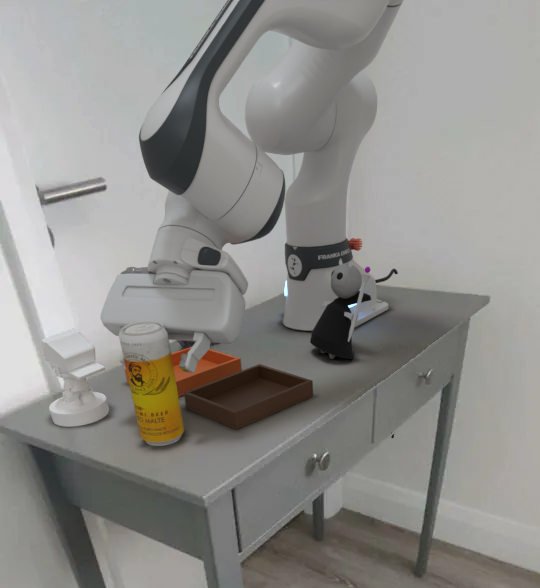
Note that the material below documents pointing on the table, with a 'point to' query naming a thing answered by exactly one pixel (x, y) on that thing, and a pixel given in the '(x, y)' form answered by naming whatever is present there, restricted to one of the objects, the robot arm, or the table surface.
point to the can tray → (203, 369)
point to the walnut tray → (248, 395)
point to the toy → (341, 312)
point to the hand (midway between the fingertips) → (156, 367)
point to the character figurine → (74, 379)
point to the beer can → (152, 382)
